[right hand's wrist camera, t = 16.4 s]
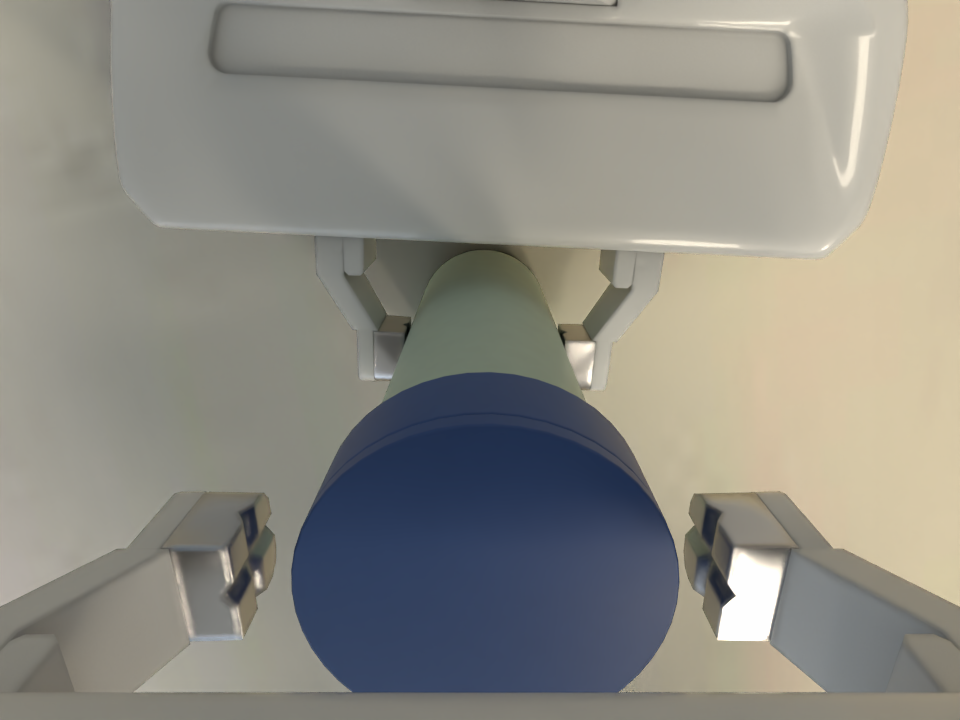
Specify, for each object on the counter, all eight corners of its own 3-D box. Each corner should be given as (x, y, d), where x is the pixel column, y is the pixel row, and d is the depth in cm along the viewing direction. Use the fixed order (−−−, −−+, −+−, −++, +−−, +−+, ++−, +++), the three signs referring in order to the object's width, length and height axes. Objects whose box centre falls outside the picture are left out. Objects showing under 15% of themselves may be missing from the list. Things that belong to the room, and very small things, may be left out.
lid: (664, 614, 11) (698, 704, 10) (376, 664, 12) (357, 758, 10) (621, 336, 9) (654, 383, 8) (276, 410, 10) (231, 472, 8)
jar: (554, 353, 24) (660, 666, 10) (439, 378, 25) (379, 713, 10) (531, 236, 23) (617, 406, 8) (407, 265, 23) (282, 475, 9)
